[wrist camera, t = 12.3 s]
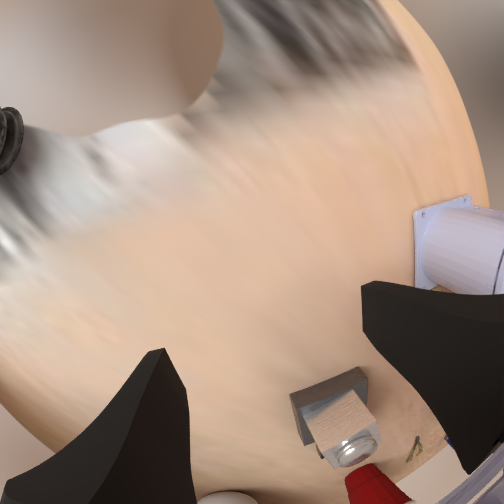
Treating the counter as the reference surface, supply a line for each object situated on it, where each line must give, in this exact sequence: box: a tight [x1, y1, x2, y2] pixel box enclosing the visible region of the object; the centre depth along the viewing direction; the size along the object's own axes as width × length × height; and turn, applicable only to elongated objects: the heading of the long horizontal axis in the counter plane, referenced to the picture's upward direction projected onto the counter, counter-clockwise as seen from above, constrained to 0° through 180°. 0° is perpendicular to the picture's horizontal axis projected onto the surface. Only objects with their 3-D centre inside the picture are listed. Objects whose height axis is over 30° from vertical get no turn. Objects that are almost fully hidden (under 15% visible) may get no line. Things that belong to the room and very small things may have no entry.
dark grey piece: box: [290, 367, 368, 459], centre depth 22 cm, size 7×13×5 cm, turn 13°
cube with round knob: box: [303, 389, 382, 469], centre depth 19 cm, size 5×5×6 cm
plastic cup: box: [345, 464, 416, 504], centre depth 26 cm, size 11×11×12 cm
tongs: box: [407, 436, 422, 463], centre depth 35 cm, size 4×13×2 cm, turn 29°
